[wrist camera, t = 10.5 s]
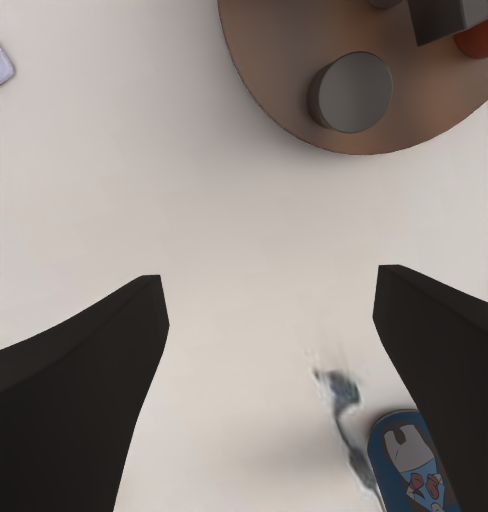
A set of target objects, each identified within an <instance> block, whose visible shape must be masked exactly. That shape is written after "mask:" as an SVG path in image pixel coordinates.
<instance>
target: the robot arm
mask: <svg viewBox="0 0 488 512" xmlns="http://www.w3.org/2000/svg"><path fill="white" fill-rule="evenodd" d="M13 72H14V71H13V66H12V64H11V62H10V61H9V60H8V58H7V57H6V55H5V54H4V52H3V51H2V49H1V48H0V85H1V84H2V83H4V82H5V81H7V80H8V79H9V78H11V77H12V76H13ZM373 321H374V324H375V327H376V329H377V332H378V335H379V337H380V340H381V342H382V344H383V346H384V348H385V350H386V352H387V354H388V356H389V357H390V359H391V361H392V363H393V365H394V366H395V368H396V370H397V372H398V374H399V375H400V377H401V379H402V381H403V382H404V384H405V386H406V388H407V390H408V391H409V393H410V395H411V397H412V399H413V400H414V402H415V404H416V406H417V408H418V410H419V412H420V414H421V416H422V418H423V420H424V422H425V424H426V427H427V429H428V431H429V434H430V436H431V438H432V441H433V443H434V445H435V448H436V450H437V452H438V455H439V457H440V460H441V462H442V465H443V467H444V470H445V472H446V475H447V477H448V480H449V482H450V485H451V487H452V490H453V492H454V495H455V497H456V500H457V503H458V506H459V508H460V511H461V512H488V302H486V301H483V300H481V299H478V298H476V297H473V296H471V295H468V294H466V293H464V292H461V291H459V290H457V289H455V288H452V287H450V286H448V285H446V284H443V283H441V282H439V281H437V280H435V279H432V278H430V277H428V276H426V275H424V274H421V273H419V272H417V271H415V270H412V269H410V268H407V267H405V266H402V265H379V268H378V277H377V285H376V293H375V301H374V309H373ZM169 326H170V324H169V319H168V314H167V309H166V303H165V298H164V293H163V288H162V282H161V277H160V275H142V276H140V277H138V278H136V279H134V280H132V281H131V282H129V283H127V284H126V285H124V286H122V287H121V288H119V289H118V290H116V291H115V292H113V293H111V294H110V295H108V296H107V297H105V298H103V299H102V300H100V301H99V302H97V303H95V304H94V305H92V306H90V307H88V308H87V309H85V310H83V311H81V312H80V313H78V314H76V315H75V316H73V317H71V318H69V319H67V320H66V321H64V322H62V323H60V324H58V325H56V326H54V327H52V328H50V329H48V330H46V331H44V332H41V333H39V334H37V335H35V336H33V337H31V338H28V339H26V340H24V341H21V342H19V343H16V344H14V345H11V346H9V347H6V348H4V349H1V350H0V512H113V510H114V505H115V501H116V497H117V493H118V489H119V485H120V481H121V477H122V473H123V469H124V465H125V461H126V457H127V453H128V450H129V446H130V443H131V439H132V435H133V432H134V428H135V425H136V422H137V419H138V416H139V413H140V410H141V408H142V405H143V403H144V400H145V398H146V395H147V392H148V390H149V387H150V385H151V382H152V380H153V377H154V375H155V372H156V370H157V367H158V365H159V362H160V359H161V357H162V354H163V351H164V348H165V344H166V340H167V335H168V330H169Z"/></svg>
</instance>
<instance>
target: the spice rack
mask: <svg viewBox="0 0 488 512" xmlns="http://www.w3.org/2000/svg"><path fill="white" fill-rule="evenodd" d="M217 1H218V9H219V16H220V20H221V24H222V29H223V33H224V37H225V41H226V44H227V46H228V49H229V52H230V55H231V57H232V60H233V63H234V65H235V67H236V69H237V71H238V73H239V75H240V77H241V79H242V81H243V83H244V85H245V86H246V88H247V89H248V91H249V92H250V94H251V95H252V97H253V98H254V100H255V101H256V102H257V103H258V104H259V106H260V107H261V108H262V109H263V110H264V111H265V112H266V114H267V115H268V116H269V117H270V118H272V119H273V120H274V121H275V122H276V123H277V124H278V125H280V126H281V127H282V128H283V129H285V130H286V131H288V132H289V133H291V134H292V135H294V136H296V137H297V138H299V139H301V140H303V141H305V142H307V143H309V144H311V145H313V146H316V147H319V148H322V149H325V150H329V151H332V152H337V153H344V154H350V155H374V154H382V153H390V152H394V151H398V150H402V149H406V148H410V147H412V146H415V145H417V144H420V143H423V142H425V141H428V140H430V139H432V138H434V137H436V136H438V135H439V134H441V133H443V132H445V131H447V130H449V129H450V128H452V127H453V126H455V125H456V124H458V123H459V122H461V121H462V120H464V119H465V118H467V117H468V116H469V115H470V114H472V113H473V112H474V111H475V110H476V109H478V108H479V107H480V106H481V105H483V104H484V103H485V102H486V101H487V100H488V0H217Z"/></svg>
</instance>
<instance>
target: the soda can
mask: <svg viewBox="0 0 488 512" xmlns="http://www.w3.org/2000/svg"><path fill="white" fill-rule="evenodd" d="M367 451H368V456H369V459H370V462H371V465H372V468H373V471H374V474H375V477H376V480H377V483H378V486H379V489H380V492H381V495H382V498H383V501H384V504H385V507H386V510H387V512H461V511H460V508H459V506H458V503H457V500H456V497H455V495H454V492H453V490H452V487H451V485H450V482H449V480H448V477H447V475H446V472H445V470H444V467H443V465H442V462H441V460H440V457H439V455H438V452H437V450H436V448H435V445H434V443H433V441H432V438H431V436H430V434H429V431H428V429H427V427H426V424H425V422H424V420H423V418H422V416H421V414H420V412H419V411H418V410H399V411H395V412H392V413H389V414H387V415H385V416H384V417H382V418H381V419H379V420H378V421H377V422H376V423H375V425H374V426H373V428H372V430H371V434H370V437H369V441H368V447H367Z"/></svg>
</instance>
